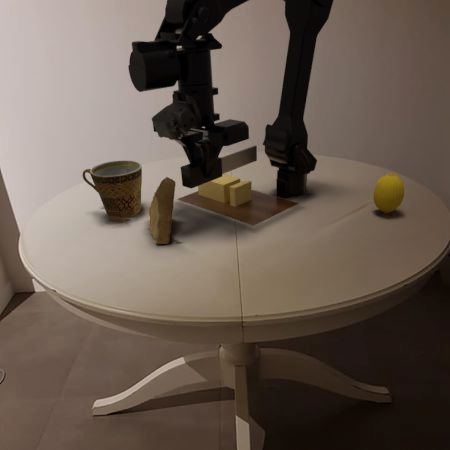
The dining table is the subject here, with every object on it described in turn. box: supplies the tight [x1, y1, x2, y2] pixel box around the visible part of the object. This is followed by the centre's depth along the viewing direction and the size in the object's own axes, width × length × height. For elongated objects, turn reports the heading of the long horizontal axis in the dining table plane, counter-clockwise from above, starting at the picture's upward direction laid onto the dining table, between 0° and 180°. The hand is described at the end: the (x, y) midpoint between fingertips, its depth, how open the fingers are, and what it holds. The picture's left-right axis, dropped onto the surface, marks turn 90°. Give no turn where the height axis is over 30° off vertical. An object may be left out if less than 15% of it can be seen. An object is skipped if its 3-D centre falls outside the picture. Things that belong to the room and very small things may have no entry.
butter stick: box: [197, 173, 241, 203], centre depth 100 cm, size 5×8×4 cm, turn 46°
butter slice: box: [230, 179, 253, 207], centre depth 96 cm, size 5×2×4 cm, turn 135°
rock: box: [147, 176, 176, 245], centre depth 87 cm, size 11×9×10 cm
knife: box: [180, 145, 258, 189], centre depth 88 cm, size 19×2×4 cm, turn 136°
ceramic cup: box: [82, 160, 143, 223], centre depth 94 cm, size 13×10×10 cm
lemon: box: [372, 172, 405, 215], centre depth 89 cm, size 6×6×8 cm
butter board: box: [176, 189, 299, 227], centre depth 98 cm, size 14×22×1 cm, turn 46°
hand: (202, 175), depth 85 cm, fingers closed on knife, 2 cm apart
